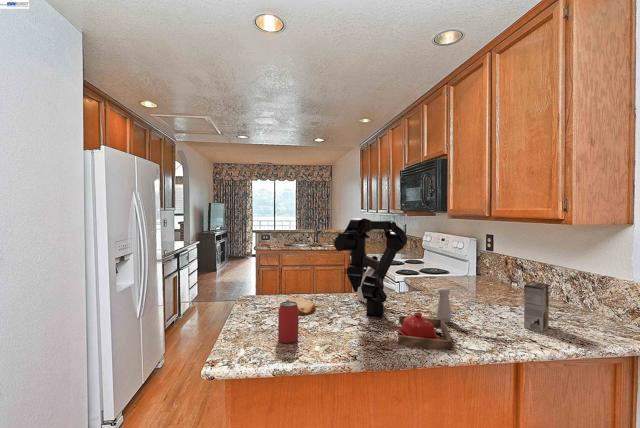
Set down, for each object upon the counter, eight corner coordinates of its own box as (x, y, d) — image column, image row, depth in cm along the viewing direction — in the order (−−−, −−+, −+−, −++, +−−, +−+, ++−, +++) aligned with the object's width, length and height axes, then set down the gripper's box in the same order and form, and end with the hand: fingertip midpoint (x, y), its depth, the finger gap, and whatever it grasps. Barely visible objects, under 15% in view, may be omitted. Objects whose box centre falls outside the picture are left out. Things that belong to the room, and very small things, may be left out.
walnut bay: (398, 344, 101) (398, 336, 101) (399, 321, 123) (399, 315, 123) (452, 350, 97) (452, 342, 97) (443, 325, 119) (443, 319, 119)
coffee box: (529, 322, 124) (529, 281, 124) (549, 326, 119) (549, 284, 119) (523, 327, 118) (523, 284, 118) (544, 332, 113) (544, 287, 113)
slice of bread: (290, 301, 151) (290, 293, 151) (325, 306, 144) (325, 297, 144) (270, 311, 135) (270, 303, 135) (308, 317, 128) (308, 308, 128)
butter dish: (442, 343, 103) (442, 317, 103) (409, 345, 101) (409, 318, 101) (425, 330, 114) (425, 307, 114) (395, 332, 112) (395, 308, 112)
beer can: (278, 336, 107) (279, 300, 107) (298, 335, 107) (298, 300, 107) (277, 344, 100) (278, 306, 100) (298, 343, 100) (298, 306, 101)
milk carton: (366, 304, 147) (366, 263, 147) (357, 300, 153) (357, 261, 153) (378, 302, 150) (378, 262, 150) (369, 298, 156) (369, 260, 156)
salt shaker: (453, 324, 121) (453, 290, 121) (437, 323, 122) (437, 289, 122) (449, 319, 126) (450, 286, 126) (434, 318, 127) (435, 286, 127)
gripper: (376, 253, 114) (376, 296, 114) (380, 248, 132) (379, 285, 132) (346, 251, 117) (345, 294, 116) (353, 247, 135) (353, 283, 135)
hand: (357, 289), depth 125 cm, fingers open, 9 cm apart
